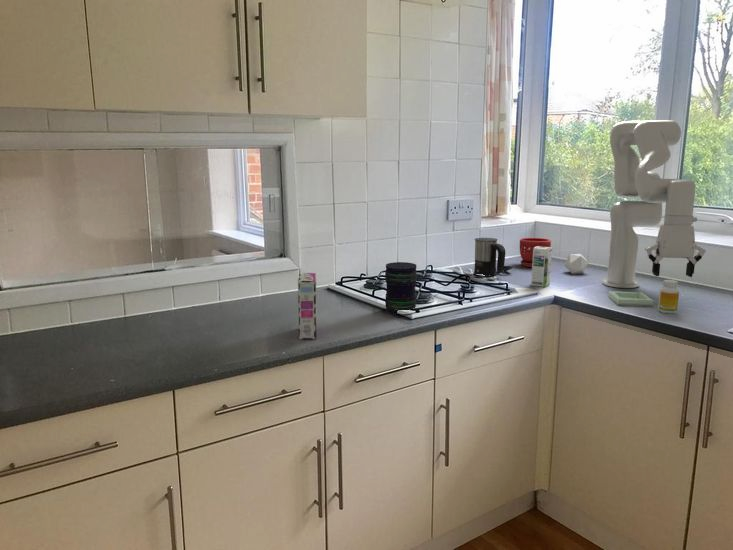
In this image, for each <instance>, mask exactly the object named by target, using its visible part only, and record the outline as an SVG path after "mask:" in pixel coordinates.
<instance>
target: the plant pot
mask: <svg viewBox="0 0 733 550" xmlns="http://www.w3.org/2000/svg"><path fill="white" fill-rule="evenodd" d="M536 246H540V247H551V246H552V240H551V239H549V238H544V237H543V238H541V237H524V238H520V239H519V254H520V257H521V260H520V264H521V265H522V266H524V267H526V268H532V263H533V248H534V247H536Z"/></svg>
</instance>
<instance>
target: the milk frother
mask: <svg viewBox="0 0 733 550" xmlns="http://www.w3.org/2000/svg"><path fill="white" fill-rule="evenodd" d="M474 241H475V243H474V272H473V274H474V273H475V274H483V275H485V276H484V277H490V276H489V275H494V276H497V273H502V272H503V273H506V272H508V271H509V270H512V269H514V268H515V265H510V266H509V265H505V261H506V248H505V247H504V245H502V244H500V243H497V242H498V238H494V237H476V238H474ZM494 276H493V277H494Z"/></svg>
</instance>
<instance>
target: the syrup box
mask: <svg viewBox="0 0 733 550" xmlns="http://www.w3.org/2000/svg"><path fill="white" fill-rule="evenodd" d="M552 257H553V247H540V246H536V247H534V248H533V263H532V267H531V281H530V286H533V287H534V286H536V287H543V288H546V287H548V286H549V285H550V284H551V273H552Z"/></svg>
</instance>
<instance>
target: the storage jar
mask: <svg viewBox="0 0 733 550" xmlns="http://www.w3.org/2000/svg"><path fill="white" fill-rule="evenodd" d="M384 277H385V283H386V284H385V285H386V291H385V299H384V300H385V313H387V314H390V315H392V314H393V316H397V315H396V314H397V311H398V310H409V309H413V308H415V309H416V307H417V300H416V299H417V295H416V283H417V278H418V276H417V264H416V263H413V262H408V261H407V262H404V261H403V262H402V261H399V262H394V261H393V262H389V263H386V264H385V275H384Z"/></svg>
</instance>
